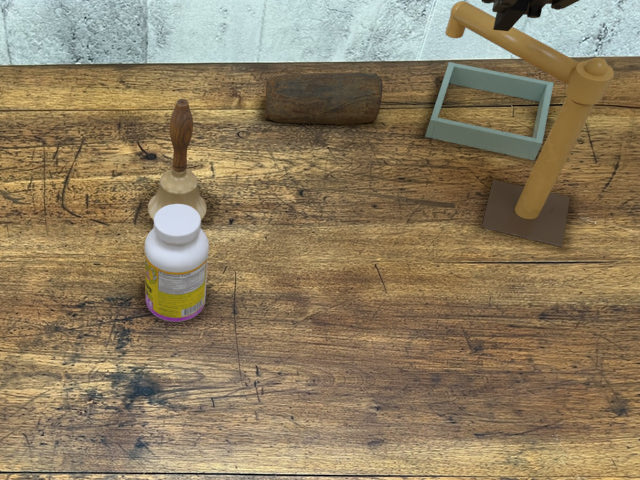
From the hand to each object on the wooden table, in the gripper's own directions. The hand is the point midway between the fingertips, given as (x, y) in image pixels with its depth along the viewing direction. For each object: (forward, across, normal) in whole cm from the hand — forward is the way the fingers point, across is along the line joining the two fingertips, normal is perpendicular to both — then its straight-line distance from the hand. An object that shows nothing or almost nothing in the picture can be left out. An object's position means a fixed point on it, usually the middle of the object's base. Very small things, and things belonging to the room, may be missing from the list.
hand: (503, 16), depth 84 cm
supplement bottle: (-2, -28, -34) cm, 45 cm away
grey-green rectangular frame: (+26, +5, -5) cm, 27 cm away
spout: (+6, +3, -3) cm, 8 cm away
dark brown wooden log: (+24, -16, -8) cm, 30 cm away
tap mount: (+14, +10, -18) cm, 25 cm away
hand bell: (+8, -31, -24) cm, 40 cm away
